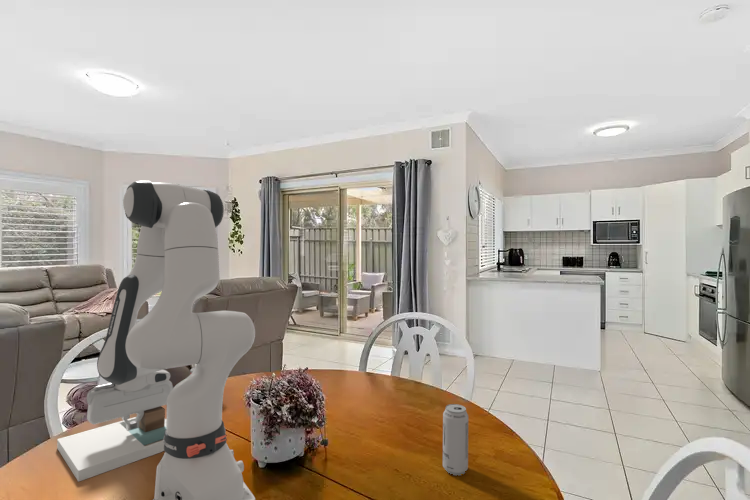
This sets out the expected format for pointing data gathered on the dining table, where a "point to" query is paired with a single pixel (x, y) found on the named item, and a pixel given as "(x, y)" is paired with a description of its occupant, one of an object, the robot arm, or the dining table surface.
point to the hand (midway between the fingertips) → (132, 428)
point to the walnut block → (152, 419)
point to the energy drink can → (455, 439)
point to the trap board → (108, 448)
